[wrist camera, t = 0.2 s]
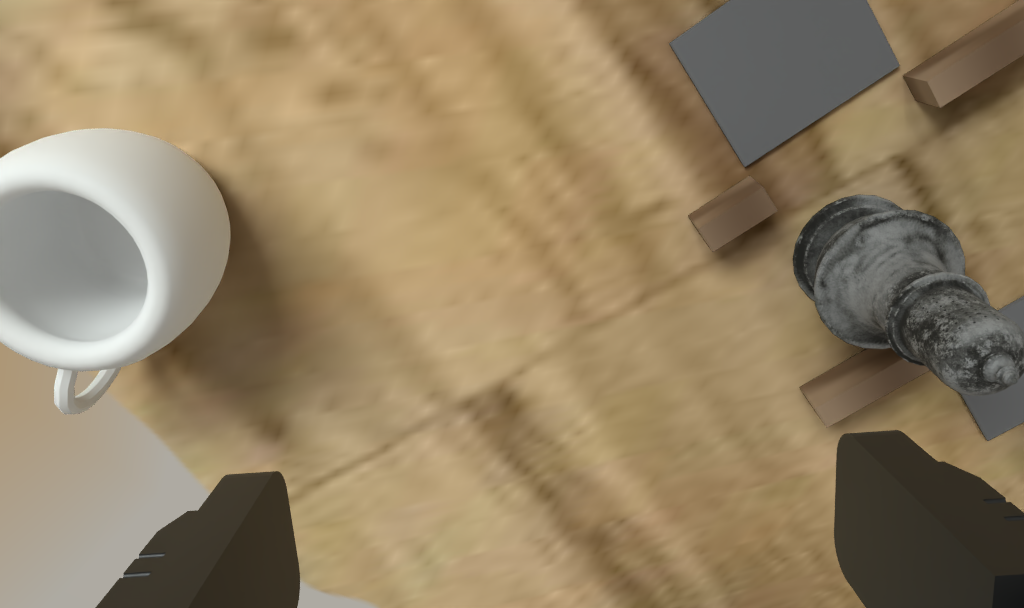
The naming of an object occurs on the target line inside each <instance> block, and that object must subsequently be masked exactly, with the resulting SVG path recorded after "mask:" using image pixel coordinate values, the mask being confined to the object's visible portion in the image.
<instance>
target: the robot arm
mask: <svg viewBox="0 0 1024 608" xmlns="http://www.w3.org/2000/svg"><path fill="white" fill-rule="evenodd" d="M834 539H835V548H836V553H837V557H838V561H839V564H840V567H841V570H842V572H843V574H844V576H845V578H846V580H847V581H848V583H849V584H850V586H851V587H852V588H853V590H854V591H855V593H856V594H857V596H858V597H859V598H860V600H861V601H862V603H863V604H864V605H865V607H866V608H1024V513H1023V512H1022V511H1021V510H1020V509H1018V508H1017V507H1016V506H1015V505H1013V504H1012V503H1011V502H1006V500H1005V497H1003V496H1002V495H1001V494H1000V493H998V492H997V491H996V490H995V489H993V488H992V487H991V486H990V485H988V484H987V483H986V482H985V481H983V480H982V479H981V478H979V477H977V476H975V475H973V474H970V473H968V472H966V471H964V470H961V469H959V468H957V467H955V466H952V465H950V464H948V463H946V462H937V461H936V460H935V459H934V458H932V457H931V456H930V455H929V454H928V453H927V452H925V451H924V450H923V449H922V448H921V447H919V446H918V445H917V444H916V443H915V442H914V441H912V440H911V439H910V438H909V437H908V436H906V435H905V434H904V433H903V432H901V431H898V430H894V431H879V432H864V433H850V434H844V435H842V437H841V438H840V440H839V443H838V447H837V462H836V492H835V522H834ZM299 590H300V572H299V563H298V557H297V551H296V544H295V538H294V532H293V525H292V519H291V513H290V506H289V500H288V494H287V488H286V484H285V480H284V478H283V476H282V474H281V473H280V472H278V471H275V472H260V473H245V474H231V475H226V476H224V477H223V478H222V479H221V481H220V482H219V483H218V485H217V486H216V487H215V489H214V490H213V491H212V493H211V494H210V495H209V497H208V498H207V499H206V501H205V502H204V503H203V505H202V506H201V507H200V509H199V510H198V511H187V512H186V513H184V514H183V515H182V516H180V517H179V518H177V519H176V520H174V521H173V522H171V523H170V524H168V525H167V526H165V527H164V528H162V529H161V530H159V531H158V532H157V533H156V534H155V535H154V537H153V538H152V539H151V540H150V542H149V543H148V544H147V545H146V546H145V548H144V549H143V550H142V551H141V553H140V554H139V559H135V560H134V561H133V562H132V564H131V565H130V566H129V567H128V569H127V570H126V571H125V572H124V577H123V578H119V580H118V581H117V582H116V583H115V585H114V586H113V587H112V588H111V589H110V591H109V592H108V593H107V594H106V596H105V597H104V598H103V599H102V601H101V602H100V603H99V604H98V605H97V607H96V608H297V606H298V600H299Z"/></svg>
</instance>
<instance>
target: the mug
mask: <svg viewBox="0 0 1024 608" xmlns="http://www.w3.org/2000/svg"><path fill="white" fill-rule="evenodd" d="M230 239H231V236H230V222H229V217H228V212H227V209H226V206H225V203H224V200H223V197H222V195H221V193H220V191H219V189H218V187H217V185H216V184H215V182H214V181H213V179H212V178H211V177H210V175H209V174H208V173H207V171H206V170H205V169H204V168H203V167H202V166H201V165H200V164H199V163H198V162H197V161H195V160H194V159H193V158H192V157H190V156H189V155H188V154H186V153H185V152H184V151H182V150H181V149H179V148H177V147H176V146H174V145H172V144H171V143H169V142H166V141H164V140H161V139H159V138H157V137H154V136H150V135H146V134H142V133H138V132H134V131H129V130H119V129H109V128H98V129H82V130H74V131H69V132H65V133H60V134H56V135H52V136H48V137H44V138H41V139H39V140H37V141H34V142H32V143H30V144H27V145H25V146H22V147H20V148H18V149H15V150H13V151H11V152H9V153H8V154H6V155H5V156H3V157H2V158H0V342H1V343H3V344H4V345H6V346H7V347H9V348H10V349H12V350H13V351H15V352H16V353H18V354H21V355H22V356H24V357H26V358H28V359H30V360H32V361H35V362H38V363H41V364H43V365H46V366H49V367H55V368H58V372H57V376H56V381H55V385H54V403H55V404H56V406H57V407H58V408H59V410H61V411H62V412H63V413H64V414H80V413H82V412H84V411H86V410H88V409H89V408H90V407H92V406H93V405H94V404H95V403H96V402H97V401H98V400H99V399H100V398H101V397H102V395H103V394H104V393H105V392H106V390H107V389H108V388H109V387H110V385H111V384H112V382H113V381H114V379H115V378H116V376H117V374H118V373H119V371H120V369H121V367H123V366H127V365H130V364H133V363H135V362H138V361H141V360H143V359H144V358H146V357H148V356H150V355H151V354H153V353H155V352H156V351H158V350H159V349H161V348H163V347H164V346H166V345H167V344H169V343H170V342H171V341H173V340H174V339H175V338H176V337H177V336H178V335H180V334H181V333H182V332H183V331H184V330H185V329H186V328H187V327H188V326H190V325H191V324H192V323H193V321H194V320H195V319H196V318H197V316H198V315H199V314H200V313H201V312H202V310H203V309H204V308H205V307H206V305H207V304H208V303H209V301H210V300H211V298H212V296H213V295H214V293H215V291H216V289H217V287H218V285H219V283H220V281H221V279H222V276H223V273H224V270H225V267H226V264H227V260H228V255H229V247H230ZM97 370H100V372H99V373H98V375H97V376H96V378H95V379H94V380H93V382H92V383H91V384H90V385H89V386H88V387H87V388H86V389H85V390H84V391H83V392H82V393H80V394H79V395H77V396H75V390H74V386H75V382H76V378H77V373H78V371H97Z"/></svg>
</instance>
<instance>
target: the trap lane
mask: <svg viewBox="0 0 1024 608" xmlns="http://www.w3.org/2000/svg"><path fill="white" fill-rule="evenodd" d="M1023 55H1024V0H1018V1H1017V2H1015V3H1014V4H1012V5H1011V6H1009V7H1008V8H1006V9H1005V10H1003V11H1001V12H1000V13H998V14H997V15H995V16H994V17H992V18H991V19H989V20H988V21H986V22H985V23H983V24H982V25H980V26H978V27H977V28H975V29H974V30H972V31H971V32H969V33H968V34H966V35H965V36H963V37H962V38H960V39H958V40H957V41H955V42H954V43H952V44H951V45H949V46H948V47H946V48H945V49H943V50H942V51H940V52H939V53H937V54H935V55H934V56H932V57H931V58H929V59H928V60H926V61H925V62H923V63H922V64H920V65H919V66H917V67H916V68H914V69H912V70H911V71H909V72H908V73H906V74H905V75H903V77H904V79H905V81H906V83H907V85H908V87H909V89H910V91H911V92H912V94H913V96H914V98H915V100H916V101H919V102H922V103H926V104H929V105H932V106H936V107H939V108H941V107H942V106H944V105H946V104H947V103H949V102H950V101H952V100H954V99H955V98H957V97H958V96H960V95H961V94H963V93H965V92H966V91H968V90H969V89H971V88H972V87H974V86H976V85H977V84H979V83H980V82H982V81H983V80H985V79H987V78H988V77H990V76H991V75H993V74H995V73H996V72H998V71H999V70H1001V69H1002V68H1004V67H1006V66H1007V65H1009V64H1010V63H1012V62H1013V61H1015V60H1017V59H1018V58H1020V57H1021V56H1023ZM777 211H778V210H777V209H776V207H775V205H774V204H773V202H772V201H771V199H770V197H769V196H768V194H767V192H766V191H765V189H764V187H763V186H761V185H760V184H759V183H758V182H757V181H755V180H754V179H753V178H752V177H750V176H748V177H747V178H745V179H744V180H742V181H740V182H739V183H737V184H736V185H734V186H733V187H731V188H730V189H728V190H727V191H725V192H724V193H722V194H720V195H719V196H717V197H716V198H714V199H713V200H711V201H710V202H708V203H707V204H705V205H704V206H702V207H701V208H699V209H697V210H696V211H694V212H693V213H691V214H690V215H688V217H689V218H690V220H691V221H692V223H693V225H694V226H695V228H696V229H697V231H698V232H699V234H700V235H701V237H702V238H703V240H704V241H705V242H706V244H707V245H708V246H709V248H710V249H711V250H712V252H714V251H716V250H717V249H719V248H720V247H722V246H723V245H725V244H727V243H728V242H730V241H731V240H733V239H734V238H736V237H738V236H739V235H741V234H742V233H744V232H745V231H747V230H749V229H750V228H752V227H753V226H755V225H757V224H758V223H760V222H761V221H763V220H764V219H766V218H768V217H769V216H771V215H772V214H774V213H775V212H777ZM928 371H930V370H929V369H928V368H927V367H926V366H920V365H916V364H913V363H910V362H907V361H906V360H904V359H903V358H901V357H899V356H898V355H897V354H896V353H895V352H894V350H893V349H892V348H886V349H868V348H867V349H865V350H864V351H862V352H860V353H858V354H857V355H855V356H853V357H851V358H850V359H848V360H846V361H844V362H843V363H841V364H839V365H838V366H836V367H834V368H832V369H831V370H829V371H827V372H825V373H824V374H822V375H820V376H818V377H817V378H815V379H813V380H811V381H810V382H808V383H806V384H805V385H803V386H801V387H799V388H800V389H801V391H802V392H803V394H804V395H805V397H806V398H807V400H808V402H809V403H810V405H811V406H812V408H813V409H814V410H815V412H816V413H817V415H818V416H819V417H820V419H821V420H822V422H823V423H824V425H825V426H826V427H829V426H831V425H833V424H835V423H836V422H838V421H840V420H842V419H844V418H845V417H847V416H849V415H851V414H853V413H854V412H856V411H858V410H860V409H862V408H863V407H865V406H867V405H869V404H870V403H872V402H874V401H876V400H878V399H879V398H881V397H883V396H885V395H887V394H888V393H890V392H892V391H894V390H896V389H897V388H899V387H901V386H903V385H904V384H906V383H908V382H910V381H912V380H913V379H915V378H917V377H919V376H921V375H922V374H924V373H926V372H928Z"/></svg>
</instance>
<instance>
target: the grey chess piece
mask: <svg viewBox="0 0 1024 608" xmlns="http://www.w3.org/2000/svg"><path fill="white" fill-rule="evenodd" d="M793 266H794V274H795V276H796V279H797V281H798V284H799V286H800V287H801V288H802V290H803V291H804V292H805V293H806V294H807V296H808V297H809V298H811V299H812V300H814V301H815V306H816V308H817V310H818V313H819V315H820V318H821V320H822V321H823V323H824V324H825V325H826V326H827V327H828V329H829V330H830V331H831V332H832V333H833V334H834V335H835V336H837V337H838V338H840V339H842V340H843V341H845V342H846V343H848V344H852V345H855V346H858V347H862V348H868V349H886V348H892V349H893V350H894V352H895V353H896V354H897V355H898V356H899V357H901V358H903V359H904V360H906V361H907V362H910V363H913V364H916V365H920V366H926V367H927V368H928V369H929V370H931V371H932V372H933V373H934V374H935V375H936V376H937V377H938V378H939V379H940V380H941V381H942V382H943V383H945V384H946V385H947V386H949V387H950V388H952V389H953V390H955V391H958V392H960V393H963V394H966V395H970V396H984V395H989V394H995V393H998V392H1000V391H1003V390H1005V389H1007V388H1008V387H1010V386H1011V385H1013V384H1016V383H1017V381H1018V379H1019V378H1020V377H1021V376H1022V374H1023V373H1024V332H1023V331H1022V330H1021V328H1020V327H1019V326H1018V324H1016V323H1015V322H1013V321H1012V320H1010V319H1009V318H1008V317H1006V316H1005V315H1003V314H1002V313H1000V312H999V311H997V310H996V309H994V308H993V307H991V306H990V303H989V300H988V297H987V294H986V292H985V291H984V290H983V288H982V287H981V286H980V285H979V284H978V283H977V282H975V281H974V280H972V279H971V278H969V277H968V276H965V257H964V254H963V251H962V248H961V245H960V241H959V240H958V239H957V237H956V236H955V235H954V233H953V232H952V231H951V229H950V228H949V227H948V226H947V225H945V224H944V223H942V222H941V221H939V220H938V219H937V218H935V217H934V216H931V215H928V214H925V213H922V212H919V211H916V210H903V209H901V208H900V207H898V206H897V205H896V204H894V203H893V202H891V201H890V200H887V199H884V198H881V197H878V196H875V195H855V196H850V197H845V198H841V199H839V200H837V201H835V202H833V203H831V204H829V205H826V206H825V207H824V208H823V209H821V210H820V211H819V212H818V213H816V214H815V215H814V216H813V217H812V218H811V219H810V220H809V222H808V223H807V224H806V225H805V227H804V228H803V229H802V231H801V233H800V235H799V238H798V240H797V242H796V244H795V250H794V255H793Z"/></svg>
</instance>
